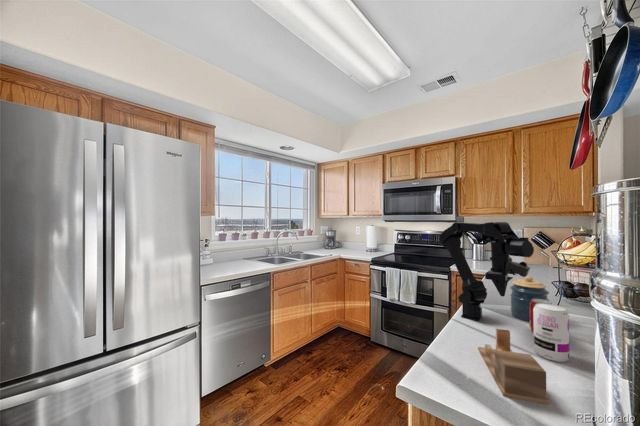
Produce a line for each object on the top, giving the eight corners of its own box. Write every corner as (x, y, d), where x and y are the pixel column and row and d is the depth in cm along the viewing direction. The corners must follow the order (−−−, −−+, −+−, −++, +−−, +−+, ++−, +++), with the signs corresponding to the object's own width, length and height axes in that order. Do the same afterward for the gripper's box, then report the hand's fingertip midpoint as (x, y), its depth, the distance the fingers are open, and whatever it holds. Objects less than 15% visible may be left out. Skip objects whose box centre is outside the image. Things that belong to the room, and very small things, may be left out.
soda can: (560, 339, 91) (559, 304, 91) (537, 337, 92) (536, 303, 92) (546, 330, 97) (546, 298, 98) (525, 328, 99) (525, 297, 99)
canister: (531, 311, 117) (530, 272, 117) (558, 323, 104) (557, 279, 104) (503, 311, 117) (502, 272, 117) (527, 323, 104) (526, 279, 104)
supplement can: (562, 352, 82) (561, 304, 82) (574, 365, 74) (573, 313, 74) (530, 346, 85) (529, 301, 85) (539, 359, 78) (538, 309, 78)
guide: (477, 349, 84) (477, 326, 84) (510, 353, 81) (510, 330, 81) (503, 395, 62) (502, 365, 62) (549, 404, 59) (548, 372, 59)
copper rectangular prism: (496, 359, 75) (495, 328, 76) (509, 361, 74) (508, 330, 75) (513, 387, 63) (513, 350, 63) (529, 390, 62) (529, 352, 62)
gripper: (521, 258, 86) (524, 305, 85) (531, 254, 99) (534, 295, 98) (483, 256, 94) (485, 299, 93) (497, 252, 107) (499, 290, 106)
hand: (502, 296), depth 98 cm, fingers closed
